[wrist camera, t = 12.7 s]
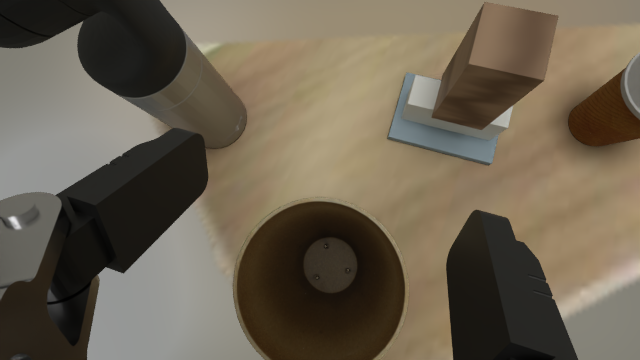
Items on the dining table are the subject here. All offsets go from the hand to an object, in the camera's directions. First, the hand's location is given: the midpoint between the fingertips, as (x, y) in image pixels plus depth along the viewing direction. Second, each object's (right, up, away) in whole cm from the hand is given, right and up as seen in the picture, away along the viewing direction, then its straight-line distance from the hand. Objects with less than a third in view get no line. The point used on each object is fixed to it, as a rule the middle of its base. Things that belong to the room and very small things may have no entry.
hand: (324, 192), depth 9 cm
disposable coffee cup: (+37, +8, +32) cm, 49 cm away
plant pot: (+1, -11, +32) cm, 34 cm away
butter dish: (+18, +9, +34) cm, 39 cm away
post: (+17, +10, +28) cm, 34 cm away
